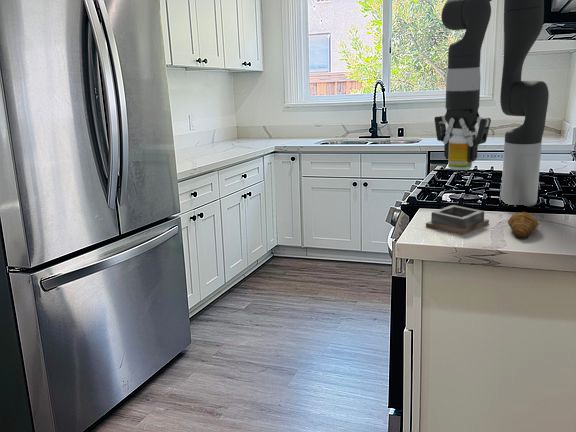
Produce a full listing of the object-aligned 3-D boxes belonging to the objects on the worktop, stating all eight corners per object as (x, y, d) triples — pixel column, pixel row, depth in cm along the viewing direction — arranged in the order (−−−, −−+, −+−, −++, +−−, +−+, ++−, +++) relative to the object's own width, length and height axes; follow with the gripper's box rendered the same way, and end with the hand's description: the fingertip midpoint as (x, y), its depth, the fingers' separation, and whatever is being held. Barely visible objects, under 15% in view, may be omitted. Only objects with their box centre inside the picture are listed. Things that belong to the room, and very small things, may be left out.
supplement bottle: (472, 170, 122) (474, 129, 119) (449, 170, 123) (450, 129, 120) (469, 165, 127) (471, 126, 124) (447, 166, 128) (448, 126, 125)
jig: (453, 216, 137) (454, 203, 136) (488, 223, 129) (489, 210, 128) (425, 226, 129) (426, 213, 128) (460, 235, 122) (461, 221, 121)
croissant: (509, 222, 130) (510, 203, 128) (539, 224, 127) (540, 205, 125) (504, 239, 118) (505, 218, 117) (537, 242, 115) (539, 221, 114)
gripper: (500, 87, 117) (496, 161, 121) (445, 87, 127) (443, 155, 132) (482, 89, 112) (478, 166, 117) (427, 89, 123) (425, 159, 128)
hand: (460, 159), depth 125 cm, fingers closed on supplement bottle, 5 cm apart
